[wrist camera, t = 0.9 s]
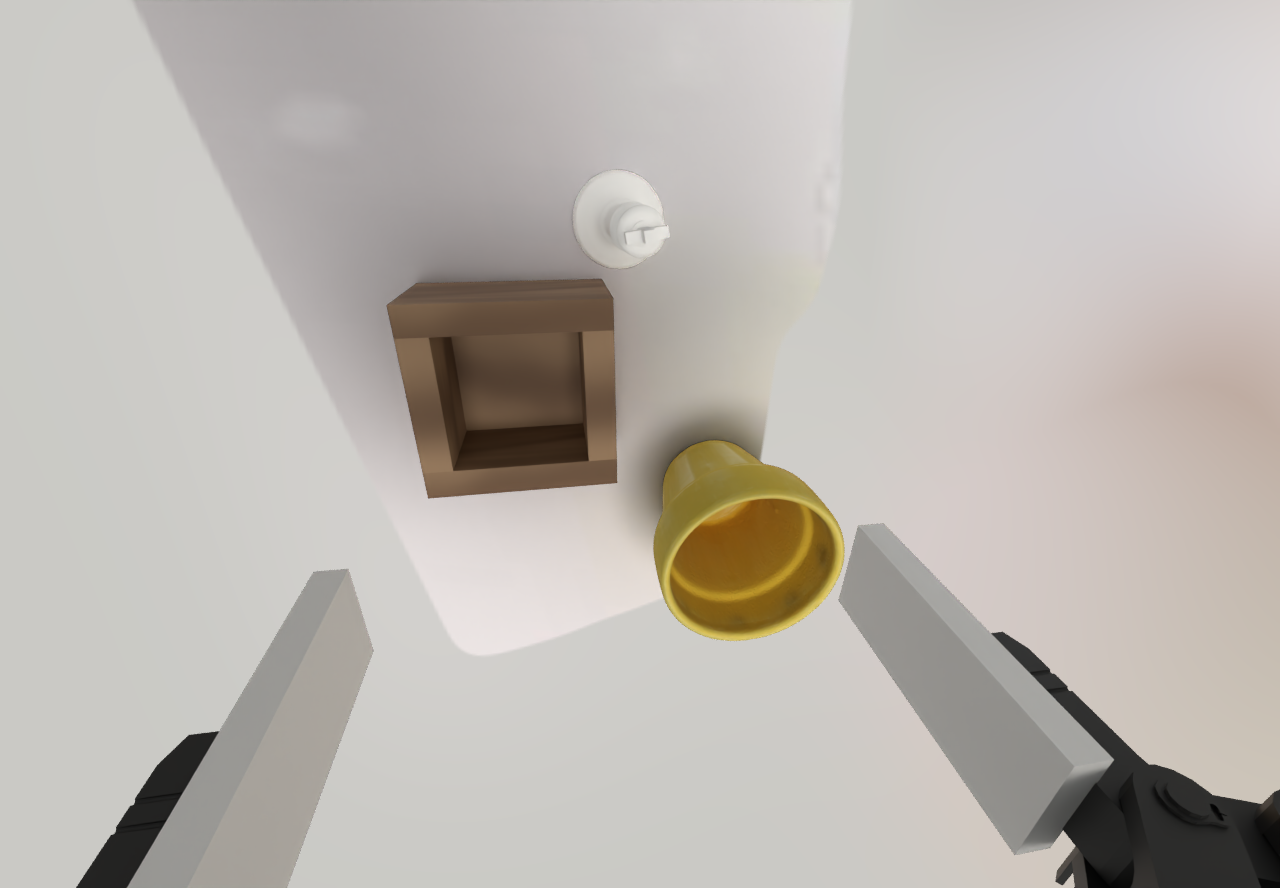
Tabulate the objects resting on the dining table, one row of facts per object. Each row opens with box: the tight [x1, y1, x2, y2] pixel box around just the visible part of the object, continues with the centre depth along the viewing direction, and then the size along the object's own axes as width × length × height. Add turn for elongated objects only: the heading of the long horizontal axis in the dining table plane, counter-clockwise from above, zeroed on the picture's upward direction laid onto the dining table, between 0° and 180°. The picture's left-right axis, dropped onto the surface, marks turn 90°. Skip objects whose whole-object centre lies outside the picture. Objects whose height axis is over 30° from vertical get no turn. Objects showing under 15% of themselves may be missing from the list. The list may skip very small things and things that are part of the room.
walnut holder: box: [387, 279, 617, 498], centre depth 28 cm, size 10×10×6 cm
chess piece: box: [573, 170, 670, 269], centre depth 23 cm, size 5×5×10 cm
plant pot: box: [653, 440, 844, 641], centre depth 32 cm, size 10×10×10 cm
